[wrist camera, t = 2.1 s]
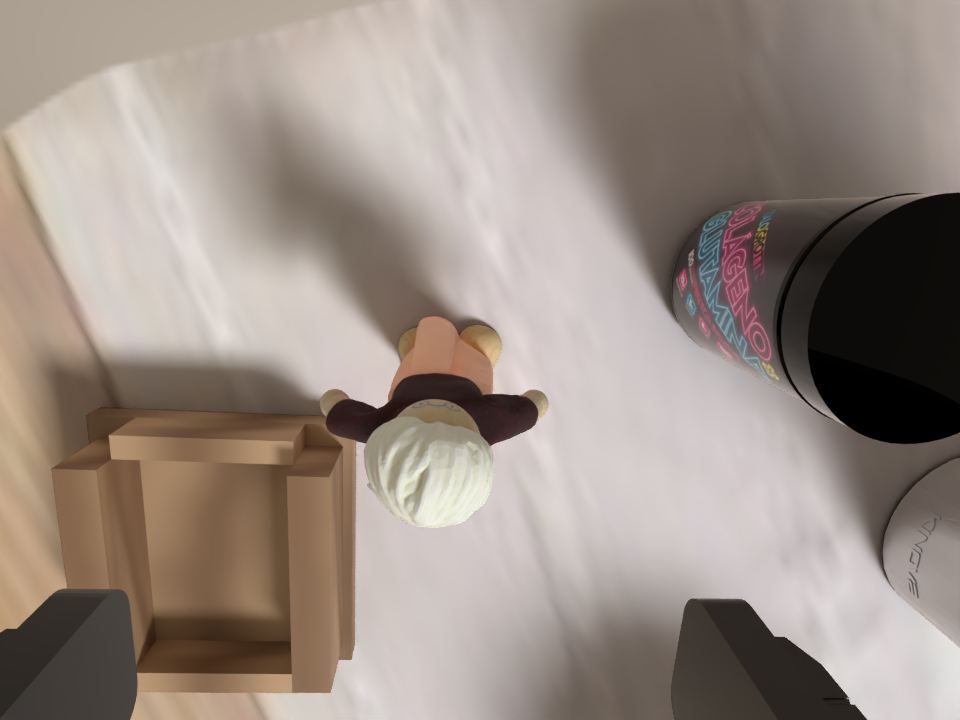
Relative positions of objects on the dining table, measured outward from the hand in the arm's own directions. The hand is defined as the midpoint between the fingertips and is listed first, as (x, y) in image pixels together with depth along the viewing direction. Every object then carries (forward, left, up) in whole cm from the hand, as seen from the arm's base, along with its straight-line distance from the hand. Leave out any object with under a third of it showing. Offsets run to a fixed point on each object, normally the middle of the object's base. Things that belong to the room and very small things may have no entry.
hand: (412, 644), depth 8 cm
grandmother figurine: (0, 0, -18) cm, 18 cm away
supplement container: (-13, -4, -18) cm, 22 cm away
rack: (+9, +9, -18) cm, 22 cm away
